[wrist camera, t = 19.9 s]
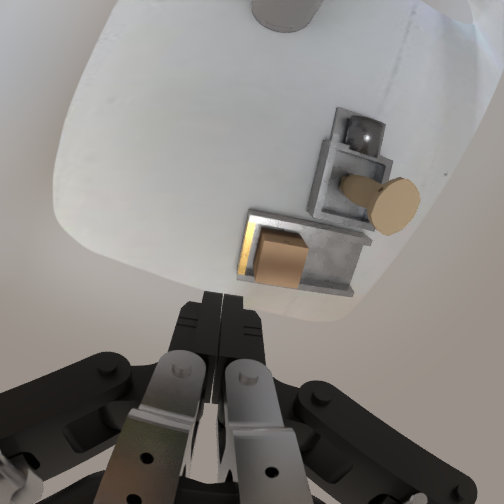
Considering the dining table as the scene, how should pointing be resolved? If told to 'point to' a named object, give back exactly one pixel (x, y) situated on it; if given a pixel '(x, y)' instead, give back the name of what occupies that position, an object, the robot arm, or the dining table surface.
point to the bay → (319, 255)
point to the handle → (383, 201)
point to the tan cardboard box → (279, 258)
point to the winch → (348, 168)
